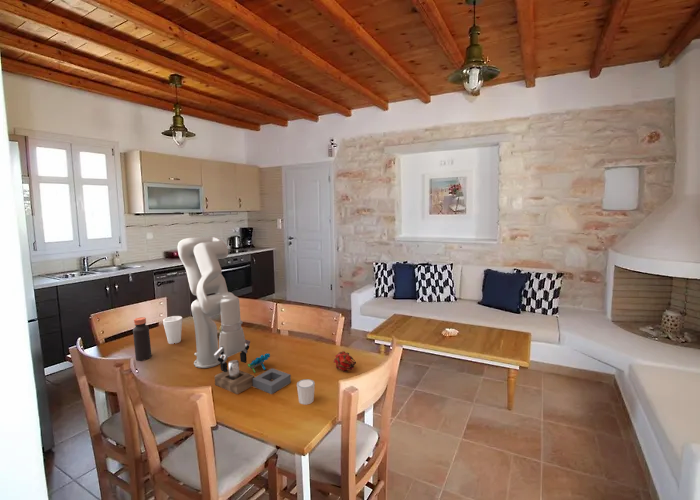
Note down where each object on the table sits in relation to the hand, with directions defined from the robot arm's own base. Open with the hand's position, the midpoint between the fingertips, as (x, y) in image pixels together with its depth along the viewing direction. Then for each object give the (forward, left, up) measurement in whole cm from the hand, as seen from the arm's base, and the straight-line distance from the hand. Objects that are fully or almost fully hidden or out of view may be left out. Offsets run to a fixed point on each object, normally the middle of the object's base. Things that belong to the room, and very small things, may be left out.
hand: (234, 366), depth 150 cm
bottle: (-60, -7, -8) cm, 61 cm away
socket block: (+13, +9, -8) cm, 17 cm away
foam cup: (-67, +13, -8) cm, 69 cm away
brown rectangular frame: (0, 0, -8) cm, 8 cm away
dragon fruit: (+31, +36, -8) cm, 48 cm away
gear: (-3, +16, -9) cm, 18 cm away
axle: (0, 0, -8) cm, 8 cm away
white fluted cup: (+32, +7, -8) cm, 34 cm away
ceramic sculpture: (-51, +35, -9) cm, 63 cm away
